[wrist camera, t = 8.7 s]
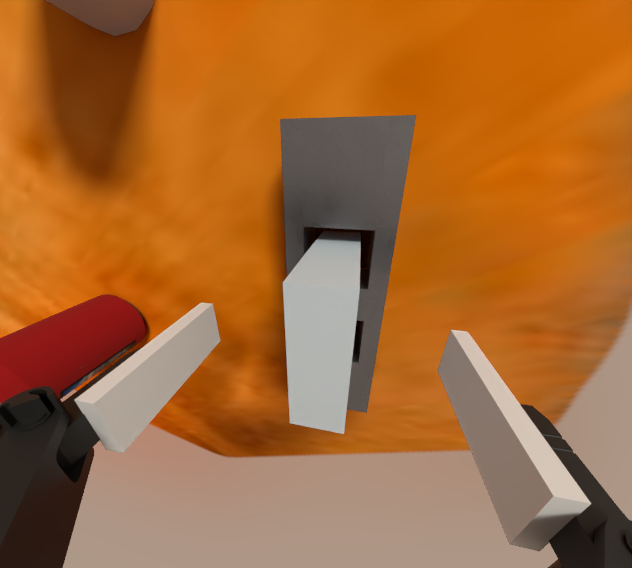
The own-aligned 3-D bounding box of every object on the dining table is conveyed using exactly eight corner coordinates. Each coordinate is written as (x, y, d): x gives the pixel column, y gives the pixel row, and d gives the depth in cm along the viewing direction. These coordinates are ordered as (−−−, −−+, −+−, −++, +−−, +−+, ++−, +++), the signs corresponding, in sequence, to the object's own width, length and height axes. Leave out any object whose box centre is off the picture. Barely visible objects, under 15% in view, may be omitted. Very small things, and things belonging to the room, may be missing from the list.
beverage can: (109, 333, 29) (-41, 423, 18) (92, 286, 26) (-100, 361, 15) (156, 343, 28) (28, 445, 17) (144, 296, 25) (-21, 383, 14)
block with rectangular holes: (302, 368, 25) (292, 399, 21) (298, 133, 16) (280, 119, 12) (365, 377, 24) (366, 412, 20) (402, 131, 15) (416, 115, 11)
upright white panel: (351, 323, 21) (344, 433, 12) (320, 319, 22) (289, 423, 12) (360, 232, 18) (359, 289, 8) (323, 230, 18) (282, 282, 9)
